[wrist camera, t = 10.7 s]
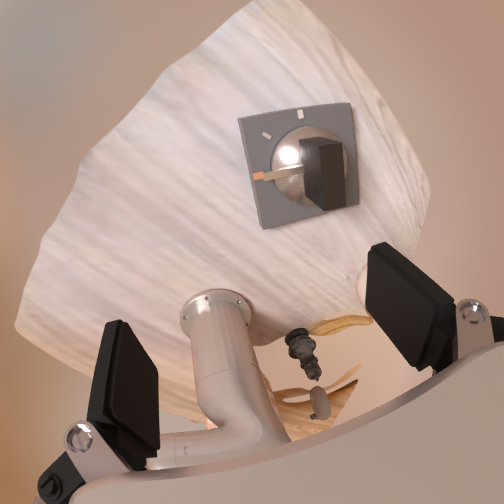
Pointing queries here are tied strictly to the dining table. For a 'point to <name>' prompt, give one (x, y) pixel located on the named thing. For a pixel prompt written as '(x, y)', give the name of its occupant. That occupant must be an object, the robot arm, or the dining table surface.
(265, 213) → the dial plate
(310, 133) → the dial
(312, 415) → the blueberries
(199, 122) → the dining table surface
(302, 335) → the dark grey chess piece
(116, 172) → the dining table surface
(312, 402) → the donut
